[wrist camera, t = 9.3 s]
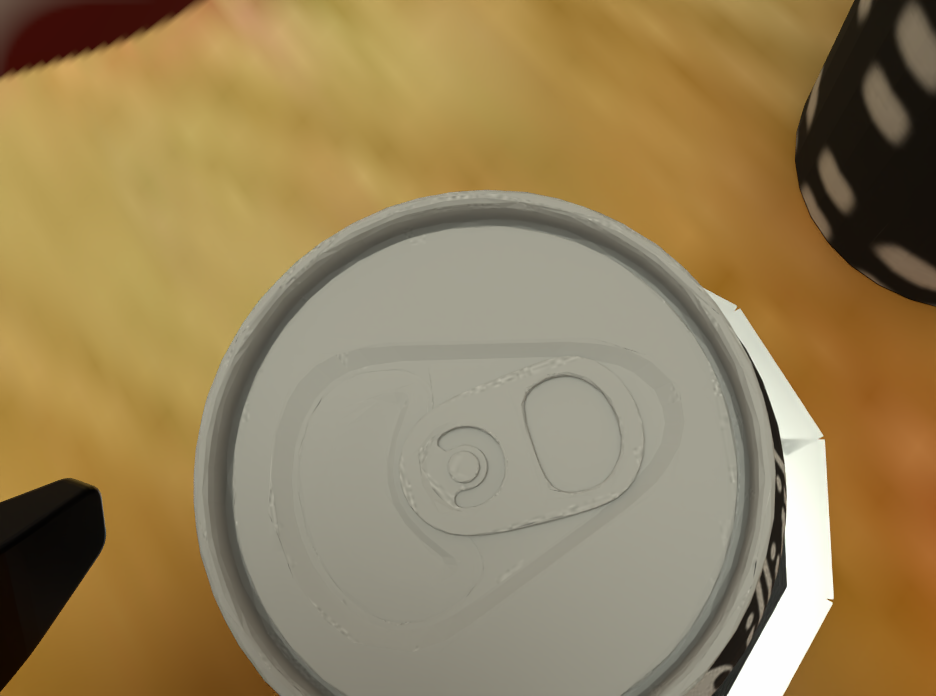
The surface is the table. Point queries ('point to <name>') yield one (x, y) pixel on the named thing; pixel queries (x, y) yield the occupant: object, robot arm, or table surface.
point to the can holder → (787, 537)
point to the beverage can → (489, 463)
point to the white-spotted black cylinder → (877, 145)
